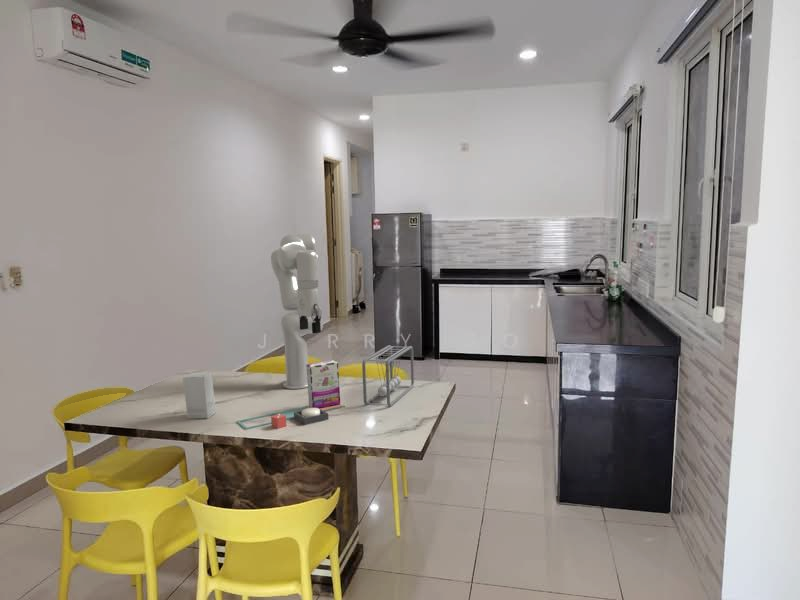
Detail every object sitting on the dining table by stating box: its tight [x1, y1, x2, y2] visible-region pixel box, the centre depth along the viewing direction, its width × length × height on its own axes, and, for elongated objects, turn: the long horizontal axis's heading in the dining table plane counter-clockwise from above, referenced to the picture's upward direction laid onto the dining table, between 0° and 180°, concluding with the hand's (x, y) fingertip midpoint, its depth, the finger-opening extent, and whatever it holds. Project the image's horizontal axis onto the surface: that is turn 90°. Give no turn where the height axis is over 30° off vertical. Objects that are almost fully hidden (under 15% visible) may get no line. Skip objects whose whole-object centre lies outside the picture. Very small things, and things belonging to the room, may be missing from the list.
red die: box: [270, 414, 287, 430], centre depth 191 cm, size 4×4×4 cm
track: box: [235, 405, 346, 430], centre depth 204 cm, size 10×38×1 cm, turn 125°
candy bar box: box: [306, 359, 341, 408], centre depth 210 cm, size 11×5×16 cm, turn 119°
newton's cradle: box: [361, 344, 415, 408], centre depth 222 cm, size 30×10×18 cm, turn 161°
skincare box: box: [182, 372, 217, 419], centre depth 204 cm, size 8×7×16 cm
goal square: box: [305, 403, 345, 411], centre depth 211 cm, size 8×12×1 cm, turn 125°
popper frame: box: [294, 407, 329, 426], centre depth 198 cm, size 9×9×2 cm
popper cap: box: [302, 408, 320, 417], centre depth 198 cm, size 6×6×2 cm
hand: (310, 330), depth 208 cm, fingers open, 9 cm apart
